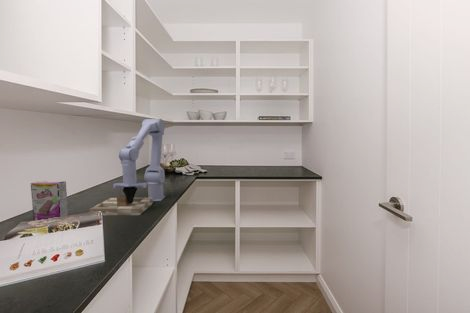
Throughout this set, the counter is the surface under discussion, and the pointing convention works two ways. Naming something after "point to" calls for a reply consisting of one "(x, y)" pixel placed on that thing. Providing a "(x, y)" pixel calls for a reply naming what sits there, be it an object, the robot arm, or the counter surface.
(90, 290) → the counter surface
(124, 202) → the walnut block
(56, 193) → the candy bar box
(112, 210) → the trap deck
